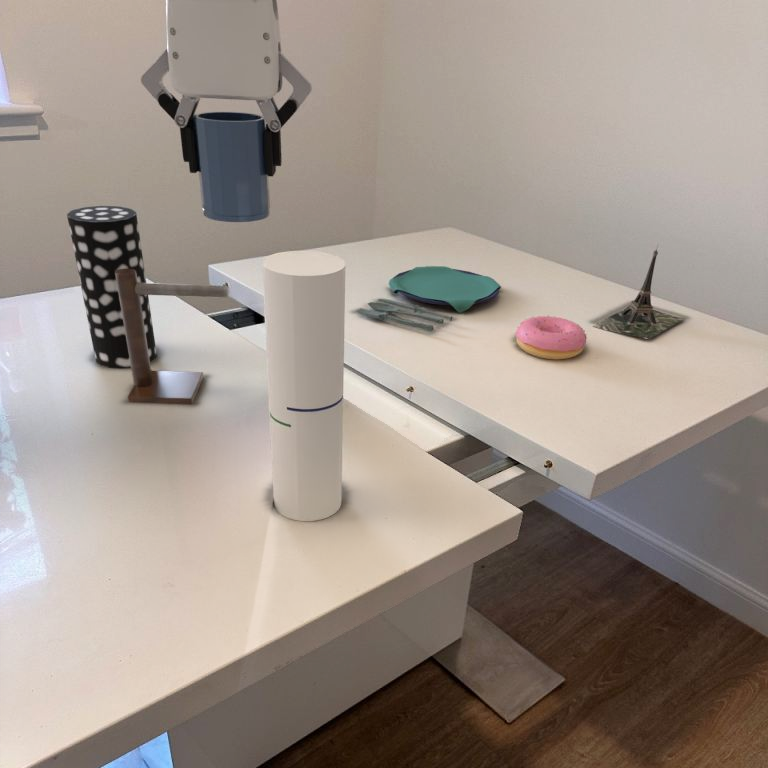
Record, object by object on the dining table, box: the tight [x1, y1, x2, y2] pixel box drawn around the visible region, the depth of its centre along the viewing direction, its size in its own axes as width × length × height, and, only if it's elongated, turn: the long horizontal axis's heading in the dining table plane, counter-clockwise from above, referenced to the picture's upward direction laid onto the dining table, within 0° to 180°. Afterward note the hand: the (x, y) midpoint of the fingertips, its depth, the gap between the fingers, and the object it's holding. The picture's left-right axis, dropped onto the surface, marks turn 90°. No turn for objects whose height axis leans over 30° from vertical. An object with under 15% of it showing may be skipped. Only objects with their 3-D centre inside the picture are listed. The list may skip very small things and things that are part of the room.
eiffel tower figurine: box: [592, 244, 686, 340], centre depth 121 cm, size 15×10×13 cm
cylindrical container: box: [261, 250, 346, 522], centre depth 69 cm, size 7×7×25 cm
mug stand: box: [115, 269, 230, 405], centre depth 90 cm, size 13×8×16 cm, turn 91°
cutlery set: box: [355, 265, 502, 332], centre depth 128 cm, size 20×30×2 cm, turn 148°
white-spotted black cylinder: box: [66, 205, 158, 370], centre depth 97 cm, size 8×8×20 cm
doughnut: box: [515, 315, 588, 360], centre depth 112 cm, size 11×11×4 cm
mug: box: [193, 111, 271, 223], centre depth 74 cm, size 11×7×9 cm, turn 1°
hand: (233, 170), depth 72 cm, fingers closed on mug, 6 cm apart
